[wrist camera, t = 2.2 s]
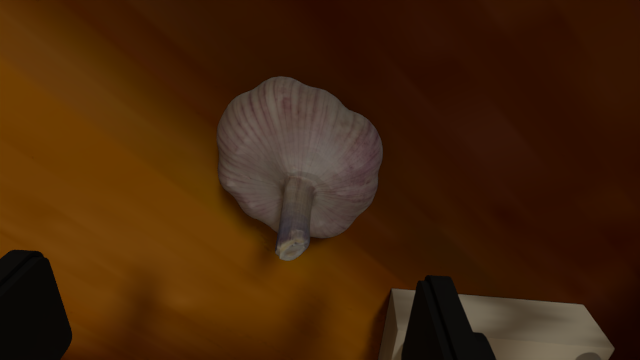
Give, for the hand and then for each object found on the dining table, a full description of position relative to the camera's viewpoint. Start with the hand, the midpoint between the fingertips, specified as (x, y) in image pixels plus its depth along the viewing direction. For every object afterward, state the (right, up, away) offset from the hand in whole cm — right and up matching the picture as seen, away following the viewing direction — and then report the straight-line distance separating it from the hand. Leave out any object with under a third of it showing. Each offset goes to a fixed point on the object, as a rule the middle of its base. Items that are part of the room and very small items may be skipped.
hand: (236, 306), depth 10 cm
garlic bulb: (+1, +5, +9) cm, 11 cm away
